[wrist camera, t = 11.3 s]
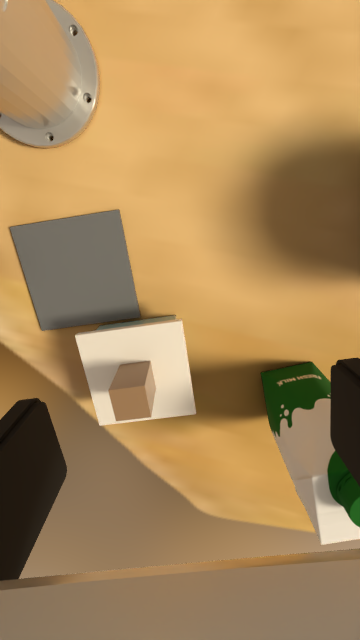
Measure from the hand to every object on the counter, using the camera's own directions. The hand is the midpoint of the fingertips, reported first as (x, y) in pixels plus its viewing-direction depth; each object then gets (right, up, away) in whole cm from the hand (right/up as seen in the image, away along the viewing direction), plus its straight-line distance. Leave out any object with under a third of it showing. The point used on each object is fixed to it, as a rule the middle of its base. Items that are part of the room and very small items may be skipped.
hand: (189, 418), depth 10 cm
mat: (-13, +9, +27) cm, 31 cm away
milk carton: (+15, -6, +32) cm, 36 cm away
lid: (-5, -3, +26) cm, 26 cm away
